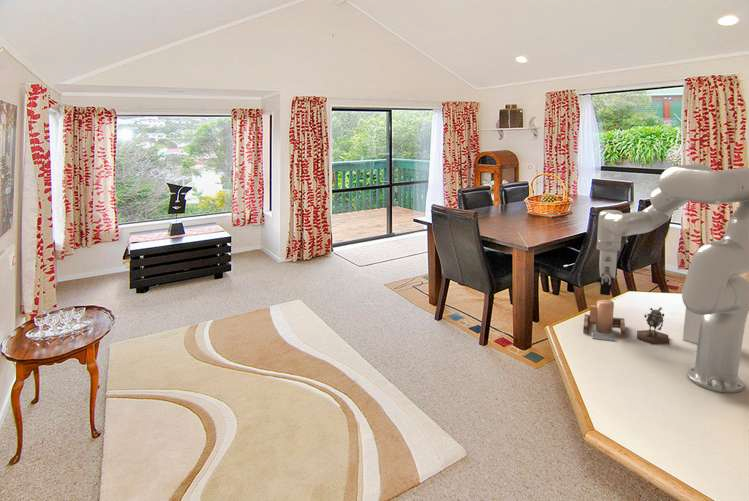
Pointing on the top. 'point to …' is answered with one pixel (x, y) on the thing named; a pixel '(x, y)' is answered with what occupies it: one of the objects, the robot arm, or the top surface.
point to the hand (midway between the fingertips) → (604, 290)
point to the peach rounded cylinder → (602, 315)
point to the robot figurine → (652, 335)
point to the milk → (691, 326)
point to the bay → (616, 322)
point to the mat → (603, 337)
